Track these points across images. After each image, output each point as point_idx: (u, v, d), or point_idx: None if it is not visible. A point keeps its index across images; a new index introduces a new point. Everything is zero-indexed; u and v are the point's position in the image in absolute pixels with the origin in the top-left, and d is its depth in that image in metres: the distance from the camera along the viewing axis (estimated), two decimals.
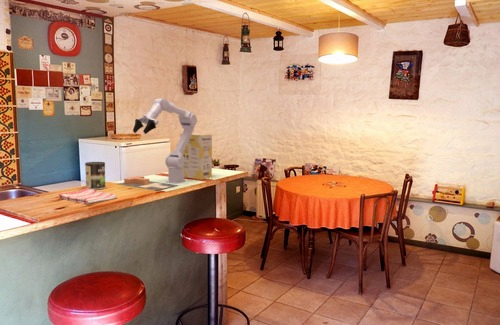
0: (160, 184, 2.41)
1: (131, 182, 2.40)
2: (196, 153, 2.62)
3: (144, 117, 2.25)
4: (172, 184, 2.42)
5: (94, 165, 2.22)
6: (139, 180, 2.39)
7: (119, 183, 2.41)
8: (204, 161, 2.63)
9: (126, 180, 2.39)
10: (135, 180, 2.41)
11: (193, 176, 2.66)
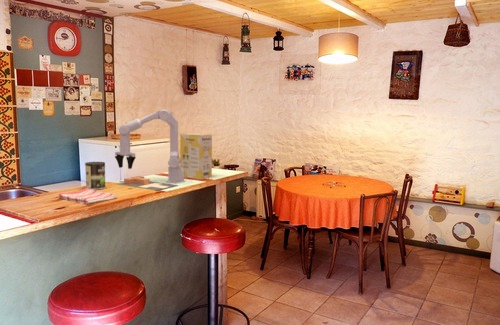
0: (160, 184, 2.41)
1: (131, 182, 2.40)
2: (196, 153, 2.62)
3: (121, 154, 2.43)
4: (172, 184, 2.42)
5: (94, 165, 2.22)
6: (139, 180, 2.39)
7: (119, 183, 2.41)
8: (204, 161, 2.63)
9: (126, 180, 2.39)
10: (135, 180, 2.41)
11: (193, 176, 2.66)
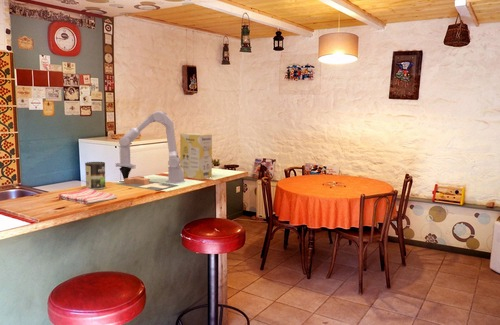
0: (160, 184, 2.41)
1: (131, 182, 2.40)
2: (196, 153, 2.62)
3: (121, 165, 2.44)
4: (172, 184, 2.42)
5: (94, 165, 2.22)
6: (139, 180, 2.39)
7: (119, 183, 2.41)
8: (204, 161, 2.63)
9: (126, 180, 2.39)
10: (135, 180, 2.41)
11: (193, 176, 2.66)
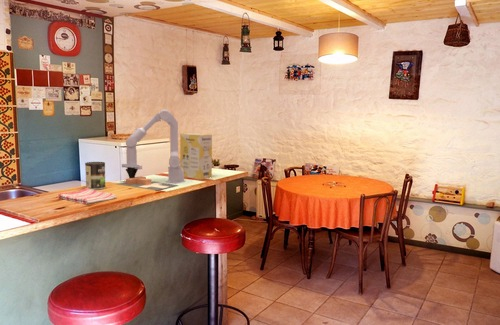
0: (160, 184, 2.41)
1: (133, 182, 2.39)
2: (196, 153, 2.62)
3: (127, 166, 2.42)
4: (172, 184, 2.42)
5: (94, 165, 2.22)
6: (141, 180, 2.39)
7: (119, 183, 2.41)
8: (204, 161, 2.63)
9: (128, 180, 2.38)
10: (137, 180, 2.40)
11: (193, 176, 2.66)
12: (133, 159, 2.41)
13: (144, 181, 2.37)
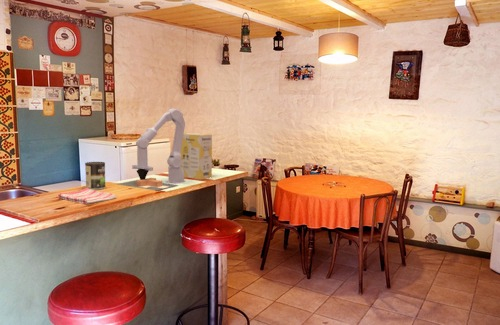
0: None
1: (143, 184, 2.35)
2: (196, 153, 2.62)
3: (138, 168, 2.38)
4: (172, 184, 2.42)
5: (94, 165, 2.22)
6: (152, 182, 2.35)
7: (119, 183, 2.41)
8: (204, 161, 2.63)
9: (138, 182, 2.34)
10: (147, 182, 2.36)
11: (193, 176, 2.66)
12: (144, 160, 2.37)
13: (155, 183, 2.33)
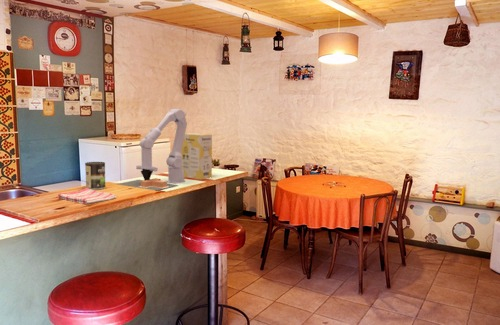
0: None
1: (148, 185, 2.33)
2: (196, 153, 2.62)
3: (142, 168, 2.36)
4: (172, 184, 2.42)
5: (94, 165, 2.22)
6: (156, 182, 2.33)
7: (119, 183, 2.41)
8: (204, 161, 2.63)
9: (143, 182, 2.32)
10: (152, 182, 2.34)
11: (193, 176, 2.66)
12: (148, 161, 2.35)
13: (160, 183, 2.32)
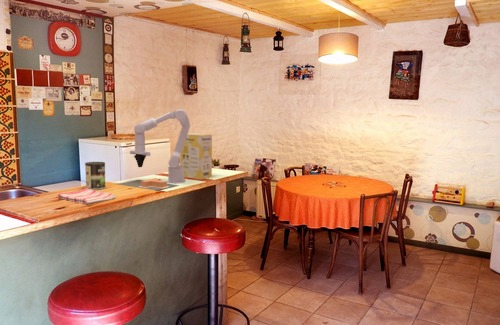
0: None
1: (148, 185, 2.33)
2: (196, 153, 2.62)
3: (136, 153, 2.43)
4: (172, 184, 2.42)
5: (94, 165, 2.22)
6: (156, 182, 2.33)
7: (119, 183, 2.41)
8: (204, 161, 2.63)
9: (143, 182, 2.32)
10: (152, 182, 2.34)
11: (193, 176, 2.66)
12: (141, 145, 2.42)
13: (160, 183, 2.32)
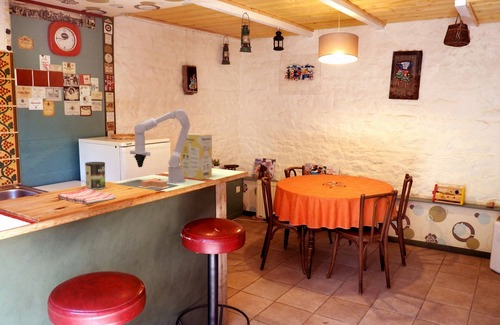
0: None
1: (148, 185, 2.33)
2: (196, 153, 2.62)
3: (136, 153, 2.43)
4: (172, 184, 2.42)
5: (94, 165, 2.22)
6: (156, 182, 2.33)
7: (119, 183, 2.41)
8: (204, 161, 2.63)
9: (143, 182, 2.32)
10: (152, 182, 2.34)
11: (193, 176, 2.66)
12: (141, 145, 2.42)
13: (160, 183, 2.32)
